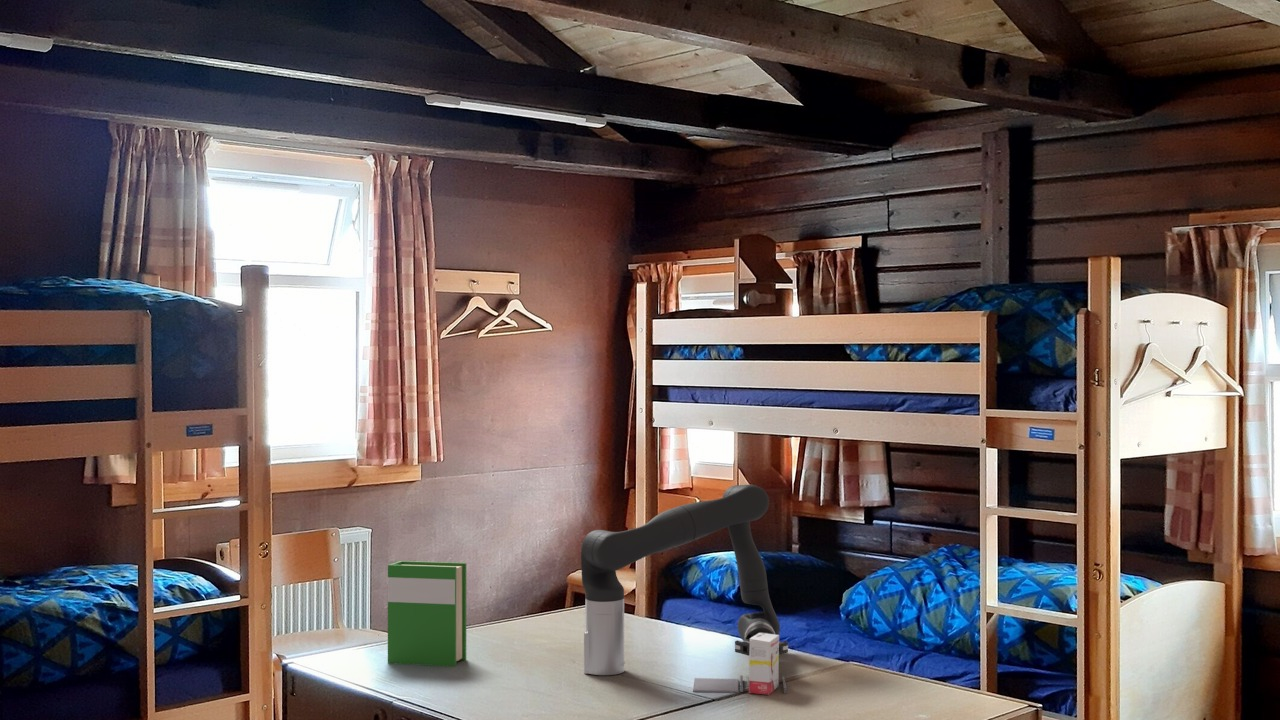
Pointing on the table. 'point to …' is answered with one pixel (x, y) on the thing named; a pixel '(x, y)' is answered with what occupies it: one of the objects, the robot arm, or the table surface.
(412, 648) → the hardback book
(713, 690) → the grey flat slab
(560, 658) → the table surface
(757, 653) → the ink box
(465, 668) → the table surface
